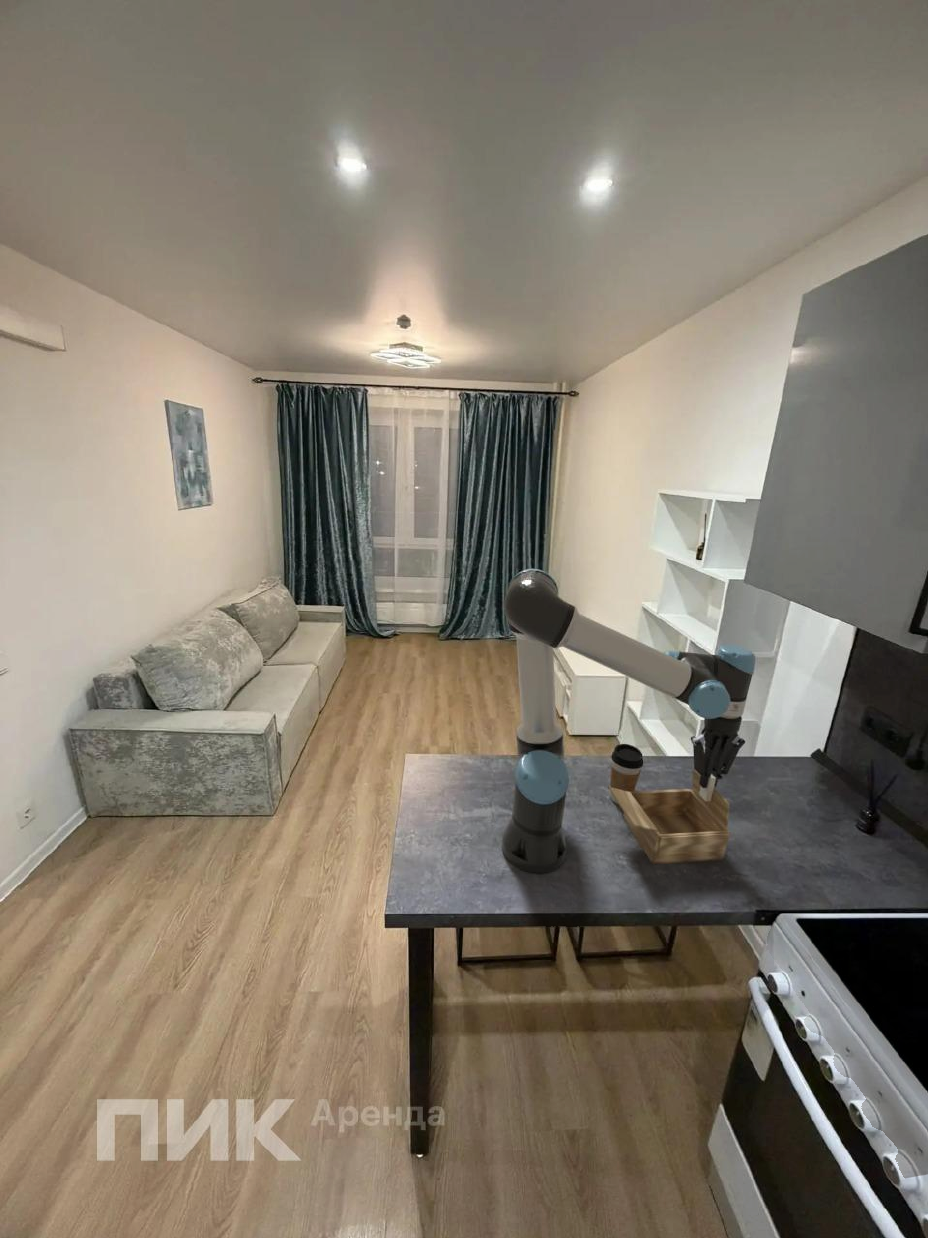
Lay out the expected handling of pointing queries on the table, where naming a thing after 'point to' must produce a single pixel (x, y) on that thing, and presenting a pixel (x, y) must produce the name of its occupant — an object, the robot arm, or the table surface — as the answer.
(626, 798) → the flap
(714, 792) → the flap
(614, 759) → the coffee cup
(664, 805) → the crate
